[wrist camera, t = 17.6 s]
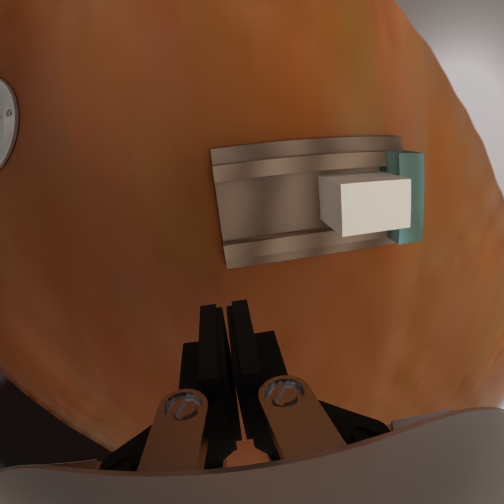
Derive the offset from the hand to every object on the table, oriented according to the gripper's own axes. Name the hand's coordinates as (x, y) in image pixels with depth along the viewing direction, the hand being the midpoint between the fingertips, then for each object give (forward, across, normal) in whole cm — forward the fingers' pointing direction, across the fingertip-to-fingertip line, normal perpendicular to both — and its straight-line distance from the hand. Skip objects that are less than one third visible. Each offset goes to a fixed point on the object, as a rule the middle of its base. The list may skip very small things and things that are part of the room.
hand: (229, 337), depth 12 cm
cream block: (+21, -14, 0) cm, 25 cm away
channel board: (+22, -10, 0) cm, 24 cm away
